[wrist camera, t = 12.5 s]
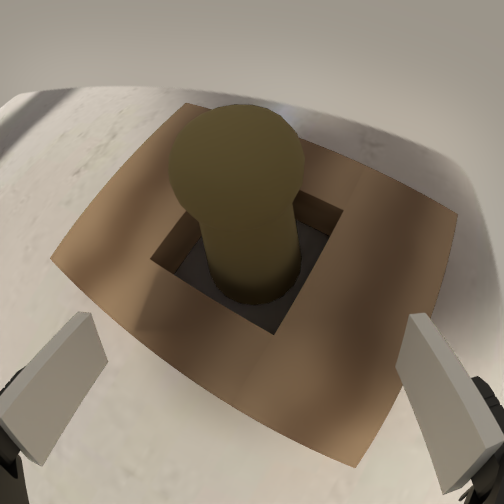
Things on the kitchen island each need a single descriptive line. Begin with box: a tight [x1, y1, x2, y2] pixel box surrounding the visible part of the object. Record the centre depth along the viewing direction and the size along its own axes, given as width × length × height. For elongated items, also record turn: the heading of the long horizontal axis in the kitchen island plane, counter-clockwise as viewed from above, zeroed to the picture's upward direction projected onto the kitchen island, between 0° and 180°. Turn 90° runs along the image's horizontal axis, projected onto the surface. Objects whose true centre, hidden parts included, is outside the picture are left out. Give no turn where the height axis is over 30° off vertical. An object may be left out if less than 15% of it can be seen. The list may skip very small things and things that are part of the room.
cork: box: [168, 104, 305, 305], centre depth 15 cm, size 6×6×11 cm
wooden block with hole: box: [50, 103, 458, 468], centre depth 18 cm, size 22×16×4 cm
